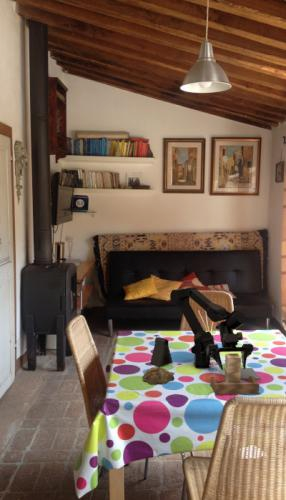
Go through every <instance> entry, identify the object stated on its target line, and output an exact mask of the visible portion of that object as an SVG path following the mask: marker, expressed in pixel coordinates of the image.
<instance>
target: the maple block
mask: <svg viewBox="0 0 286 500" xmlns="http://www.w3.org/2000/svg"><path fill="white" fill-rule="evenodd" d="M224 354H225V355H224V357H225V358H224V359H225V363H224V364H225V365H224V367H225V368H224V383H241V380H240V378H241V368H242V358H241V355H239V353H238V352H237V353H236V352H232V353H224Z"/></svg>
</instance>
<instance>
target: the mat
mask: <svg viewBox="0 0 286 500" xmlns="http://www.w3.org/2000/svg"><path fill="white" fill-rule="evenodd" d="M249 376H252V377H253V378H254V379H255V380H261V376H260V375H259V374H258V373H257V372H256V371H255V369H254V368H253V367H245V369H244V368H243V367H241V378H240V381H241V380H249Z"/></svg>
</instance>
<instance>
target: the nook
mask: <svg viewBox="0 0 286 500" xmlns="http://www.w3.org/2000/svg"><path fill="white" fill-rule="evenodd" d="M209 386H210V387H211V389H212V391H213V393H214V395H219V396H220V395H256V394H260V382H258V381H257V379H254V378H253V377H252V376H249V379H248V382H240V383H225V382H220V383H218V382H217V380H216V379H215V377H214V376H210V385H209Z"/></svg>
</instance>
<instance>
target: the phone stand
mask: <svg viewBox="0 0 286 500" xmlns="http://www.w3.org/2000/svg"><path fill="white" fill-rule="evenodd" d="M149 363H150V364H149V365H152V366H154V367H159V368H163V367H165V366H167V365H171V364H173V363H174V361H173V358H172V355H171V350H170V346H169V340H168V339H167V338H163V337H160V336H156V337H155V339H154V347H153V350H152V354H151V358H150V362H149Z"/></svg>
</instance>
